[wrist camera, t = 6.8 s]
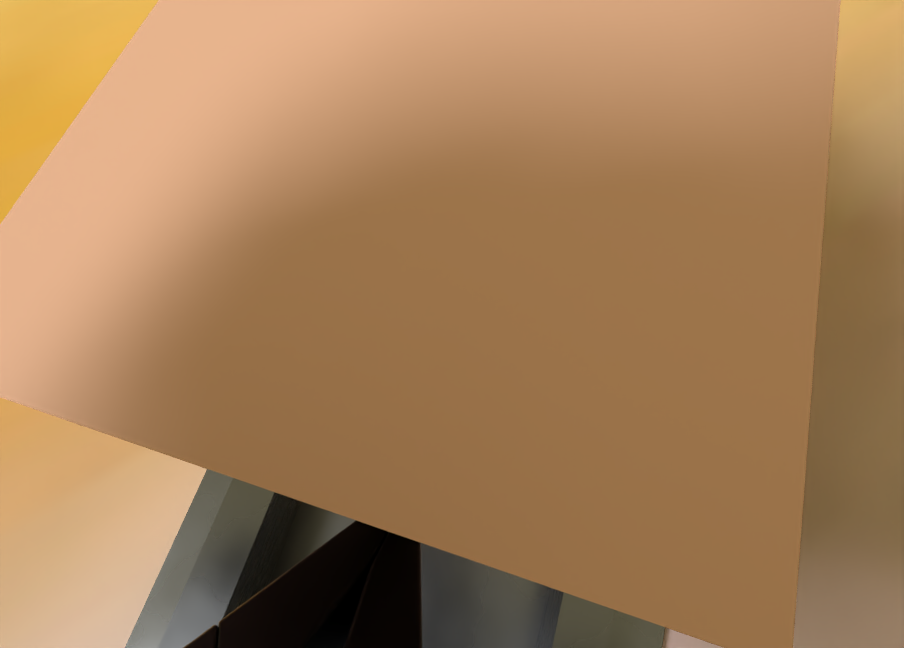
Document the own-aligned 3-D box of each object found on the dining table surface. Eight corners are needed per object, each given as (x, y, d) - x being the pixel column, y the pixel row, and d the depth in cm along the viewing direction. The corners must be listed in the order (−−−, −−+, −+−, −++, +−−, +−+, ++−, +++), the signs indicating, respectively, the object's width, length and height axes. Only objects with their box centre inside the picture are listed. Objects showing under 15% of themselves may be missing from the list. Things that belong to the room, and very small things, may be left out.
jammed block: (546, 555, 14) (790, 670, 3) (317, 478, 15) (-99, 362, 4) (597, 330, 17) (843, -56, 6) (395, 275, 18) (260, -143, 7)
